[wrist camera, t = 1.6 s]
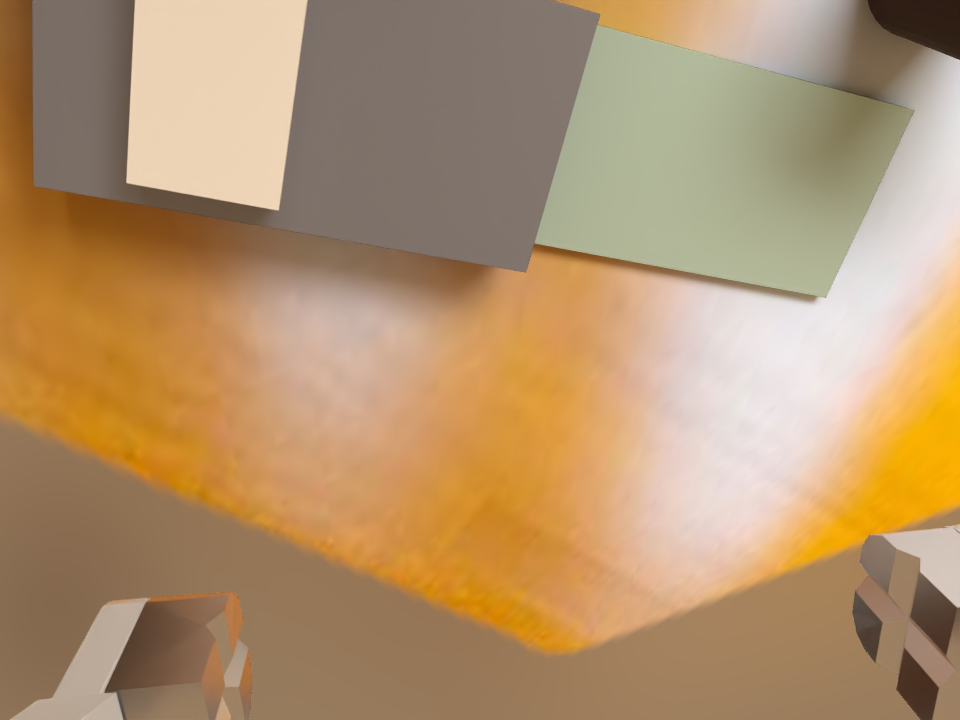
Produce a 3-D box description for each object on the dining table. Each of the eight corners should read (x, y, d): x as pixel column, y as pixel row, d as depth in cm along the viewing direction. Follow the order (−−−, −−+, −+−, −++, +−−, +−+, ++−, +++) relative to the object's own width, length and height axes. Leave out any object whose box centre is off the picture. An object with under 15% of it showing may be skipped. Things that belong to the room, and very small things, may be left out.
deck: (65, -133, 31) (31, -142, 28) (575, 6, 37) (600, 14, 33) (61, 162, 36) (33, 186, 33) (509, 244, 42) (526, 272, 38)
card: (149, -64, 29) (137, -64, 28) (310, -22, 31) (309, -20, 29) (137, 170, 33) (126, 182, 31) (281, 196, 35) (278, 210, 33)
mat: (581, 20, 37) (585, 21, 37) (907, 108, 42) (914, 110, 42) (521, 237, 42) (523, 241, 41) (820, 293, 47) (825, 297, 46)
